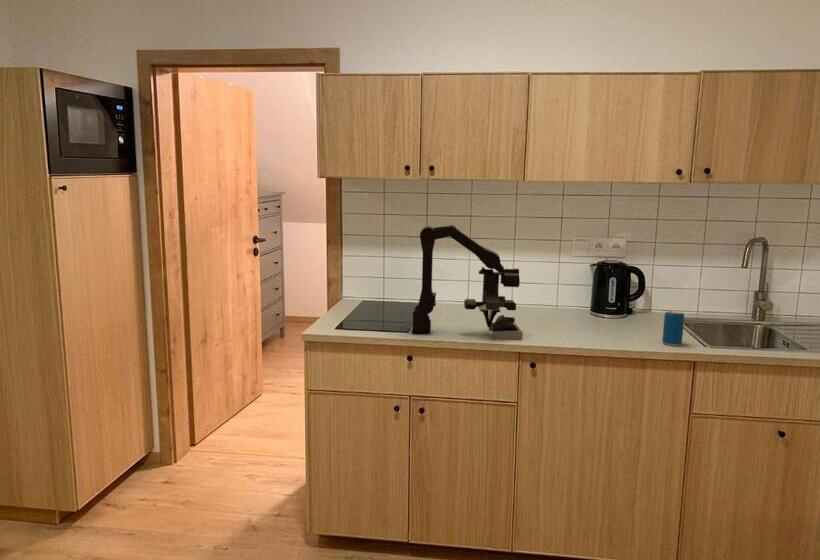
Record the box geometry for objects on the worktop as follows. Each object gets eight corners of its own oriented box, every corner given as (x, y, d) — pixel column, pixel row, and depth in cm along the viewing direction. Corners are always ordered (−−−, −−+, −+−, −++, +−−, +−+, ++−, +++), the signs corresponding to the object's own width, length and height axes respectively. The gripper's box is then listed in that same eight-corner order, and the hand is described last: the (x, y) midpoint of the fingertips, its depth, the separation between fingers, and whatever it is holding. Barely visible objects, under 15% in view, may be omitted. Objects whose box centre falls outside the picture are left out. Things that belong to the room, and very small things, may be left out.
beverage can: (670, 340, 234) (673, 308, 231) (685, 345, 228) (688, 312, 226) (658, 342, 231) (661, 310, 228) (673, 347, 225) (676, 314, 223)
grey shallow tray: (494, 339, 231) (495, 331, 230) (488, 329, 245) (489, 322, 244) (522, 339, 231) (522, 331, 231) (514, 330, 245) (514, 322, 245)
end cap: (495, 331, 243) (496, 314, 242) (514, 332, 241) (515, 315, 240) (492, 338, 234) (493, 320, 232) (511, 339, 232) (512, 321, 231)
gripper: (468, 289, 226) (466, 332, 229) (520, 290, 227) (517, 333, 230) (464, 284, 237) (462, 324, 240) (514, 285, 238) (511, 325, 241)
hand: (488, 327), depth 237 cm, fingers closed
